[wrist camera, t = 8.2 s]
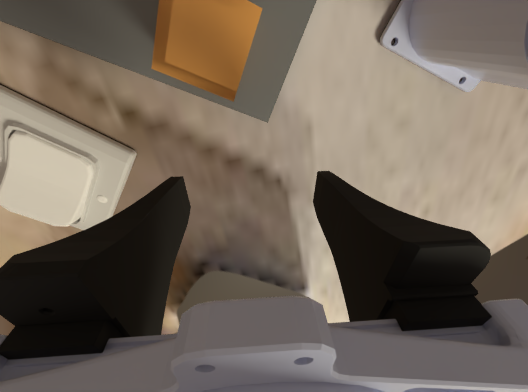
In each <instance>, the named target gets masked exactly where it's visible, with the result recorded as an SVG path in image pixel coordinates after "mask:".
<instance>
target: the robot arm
mask: <svg viewBox="0 0 528 392" xmlns="http://www.w3.org/2000/svg"><path fill="white" fill-rule="evenodd" d="M393 38H395V40H396V41H395V43H394V45H391V41H392V39H393ZM380 44H381V45H382V46H383V47H385V48H386V49H388V50H390V51H392V52H394V53H395V54H397V55H399V56H401V57H403V58H404V59H406V60H408V61H410V62H412V63H413V64H415V65H417V66H419V67H421V68H422V69H424V70H426V71H428V72H430V73H431V74H433V75H435V76H437V77H439V78H440V79H442V80H444V81H446V82H448V83H449V84H451V85H453V86H455V87H457V88H458V89H460V90H462V91H465V92H470V91H472V90H473V89H474V88H475V87H476V86H477V85H478V83H479V82H480V81H487V82H492V83H497V84H502V85H507V86H513V87H518V88H523V89H528V0H401V1H400V3H399V5H398V7H397V9H396V10H395V12H394V14H393V16H392V17H391V19H390V21H389V23H388V25H387V26H386V28H385V30H384V32H383V34H382V35H381V38H380ZM461 78H462V80H461V82H459V80H460V79H461ZM313 204H314V208H315V212H316V215H317V218H318V221H319V223H320V226H321V228H322V230H323V233H324V235H325V237H326V240H327V242H328V245H329V247H330V249H331V252H332V255H333V258H334V261H335V265H336V268H337V271H338V275H339V279H340V282H341V286H342V290H343V294H344V298H345V302H346V306H347V311H348V315H349V320H350V322H341V323H327V319H326V316H325V312H324V309H323V305H321V304H320V303H318V302H316V301H314V300H312V299H311V298H309V297H299V296H282V297H266V298H252V299H251V298H250V299H235V300H220V301H209V302H205V303H200V304H196V305H195V306H193V307H191V308H190V309H189V310H187V311H186V312H184V313H183V314H182V317H181V320H180V325H179V329H178V333H177V334H168V335H161V331H162V324H163V318H164V312H165V306H166V300H167V295H168V290H169V285H170V280H171V275H172V271H173V266H174V263H175V259H176V256H177V253H178V250H179V247H180V244H181V242H182V239H183V236H184V233H185V230H186V227H187V224H188V219H189V214H190V208H191V206H190V202H189V198H188V194H187V190H186V186H185V182H184V178H183V177H170V178H169V179H167V180H166V181H164V182H163V183H162V184H160V185H159V186H158V187H156V188H155V189H154V190H152V191H151V192H150V193H148V194H147V195H146V196H144V197H143V198H141V199H140V200H138V201H137V202H135V203H134V204H132V205H131V206H129V207H128V208H126V209H124V210H123V211H121V212H119V213H118V214H116V215H114V216H112V217H110V218H109V219H107V220H105V221H103V222H100V223H98V224H96V225H94V226H92V227H90V228H88V229H86V230H83V231H81V232H79V233H76V234H74V235H71V236H69V237H66V238H64V239H61V240H58V241H56V242H53V243H50V244H47V245H44V246H41V247H38V248H35V249H32V250H29V251H26V252H23V253H20V254H16V255H14V256H12V257H11V258H10V259H9V260H8V261H7V262H6V263H5V264H4V265H3V266H2V267H1V268H0V315H1V316H3V317H4V318H5V319H7V320H8V321H9V322H11V323H12V324H13V325H15V327H14V329H13V330H12V331H11V332H10V334H9V335H8V336H6V335H1V334H0V392H528V305H527V304H526V303H524V302H523V301H522V300H521V299H506V300H492V301H487V302H485V303H482V304H481V303H480V302H479V301H478V300H477V299H476V298H475V296H476V295H477V294H478V291H477V290H476V289H475V287H474V286H473V285H472V284H471V283H472V282H473V281H474V279H475V278H476V277H477V276H478V275H479V274H480V273H481V272H482V271H483V269H484V268H485V267H486V265H487V264H488V263H489V260H490V256H491V253H490V249H489V248H488V247H487V246H486V245H484V244H483V243H482V242H481V241H480V240H479V239H478V238H477V237H476V236H475V235H473V234H472V233H471V232H470V231H465V230H461V229H457V228H453V227H449V226H445V225H441V224H437V223H434V222H431V221H427V220H424V219H421V218H418V217H415V216H412V215H409V214H407V213H404V212H402V211H399V210H396V209H394V208H392V207H389V206H387V205H385V204H383V203H381V202H379V201H377V200H375V199H373V198H371V197H369V196H368V195H366V194H364V193H362V192H361V191H359V190H357V189H356V188H354V187H353V186H351V185H350V184H348V183H347V182H345V181H344V180H342V179H341V178H339V177H338V176H336V175H335V174H333V173H331V172H330V171H318V172H317V179H316V185H315V192H314V199H313Z"/></svg>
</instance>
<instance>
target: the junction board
mask: <svg viewBox="0 0 528 392" xmlns="http://www.w3.org/2000/svg"><path fill="white" fill-rule="evenodd" d="M248 1H250V2H252V3H254V4H255V5H257V6H259V7H261V8H263V9H262V12H261V15H260V19H259V22H258V25H257V28H256V31H255V35H254V38H253V41H252V44H251V48H250V51H249V54H248V57H247V60H246V64H245V67H244V70H243V73H242V76H241V80H240V83H239V86H238V89H237V93H236V96H235V99H234V102H233V101H231V100H228V99H226V98H223V97H221V96H218V95H216V94H213V93H211V92H208V91H206V90H203V89H201V88H198V87H196V86H193V85H191V84H188V83H186V82H183V81H181V80H178V79H176V78H173V77H171V76H168V75H166V74H163V73H161V72H158V71H156V70H153V69H151V68H152V59H153V50H154V41H155V32H156V23H157V14H158V5H159V0H0V21H2V22H5V23H7V24H10V25H13V26H15V27H18V28H20V29H23V30H26V31H28V32H31V33H34V34H36V35H39V36H42V37H44V38H47V39H49V40H52V41H55V42H57V43H60V44H63V45H65V46H68V47H70V48H73V49H76V50H78V51H81V52H84V53H86V54H89V55H91V56H94V57H97V58H99V59H102V60H105V61H107V62H110V63H112V64H115V65H118V66H120V67H123V68H126V69H128V70H131V71H133V72H136V73H139V74H141V75H144V76H147V77H149V78H152V79H154V80H157V81H160V82H162V83H165V84H168V85H170V86H173V87H175V88H178V89H181V90H183V91H186V92H189V93H191V94H194V95H196V96H199V97H202V98H204V99H207V100H210V101H212V102H215V103H218V104H220V105H223V106H225V107H228V108H231V109H233V110H236V111H239V112H241V113H244V114H246V115H249V116H252V117H254V118H257V119H260V120H262V121H265V122H267V123H268V120H269V118H270V115H271V113H272V110H273V108H274V105H275V103H276V100H277V98H278V95H279V93H280V90H281V88H282V85H283V83H284V80H285V78H286V75H287V73H288V70H289V68H290V65H291V63H292V60H293V58H294V55H295V53H296V50H297V48H298V45H299V43H300V40H301V38H302V35H303V33H304V30H305V28H306V25H307V23H308V20H309V18H310V15H311V13H312V10H313V8H314V5H315V3H316V0H248Z"/></svg>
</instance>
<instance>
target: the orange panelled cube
mask: <svg viewBox="0 0 528 392" xmlns="http://www.w3.org/2000/svg"><path fill="white" fill-rule="evenodd" d="M262 9H263V8H261V7H259V6H257V5H255V4H254V3H252V2H250V1H248V0H159V5H158V14H157V23H156V32H155V41H154V50H153V59H152V68H151V69H153V70H156V71H158V72H161V73H163V74H166V75H168V76H171V77H173V78H176V79H178V80H181V81H183V82H186V83H188V84H191V85H193V86H196V87H198V88H201V89H203V90H206V91H208V92H211V93H213V94H216V95H218V96H221V97H223V98H226V99H228V100H231V101H233V102H234V99H235V96H236V93H237V89H238V86H239V83H240V80H241V76H242V73H243V70H244V67H245V64H246V60H247V57H248V54H249V51H250V48H251V44H252V41H253V38H254V35H255V31H256V28H257V25H258V22H259V19H260V15H261V12H262Z"/></svg>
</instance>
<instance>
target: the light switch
mask: <svg viewBox="0 0 528 392" xmlns="http://www.w3.org/2000/svg"><path fill="white" fill-rule="evenodd" d="M135 157H136V152H135V151H134V150H133V149H131V148H128V147H126V146H124V145H122V144H120V143H118V142H116V141H114V140H112V139H110V138H108V137H106V136H104V135H102V134H100V133H98V132H96V131H94V130H92V129H90V128H88V127H85V126H83V125H81V124H79V123H77V122H75V121H73V120H71V119H69V118H67V117H65V116H63V115H61V114H59V113H57V112H55V111H53V110H51V109H49V108H47V107H45V106H42V105H40V104H38V103H36V102H34V101H32V100H30V99H28V98H26V97H24V96H22V95H20V94H18V93H16V92H14V91H12V90H10V89H8V88H6V87H4V86H2V85H0V205H1V206H3V207H4V208H6V209H7V210H8V211H11V212H14V213H17V214H20V215H23V216H26V217H29V218H32V219H35V220H38V221H41V222H44V223H47V224H50V225H53V226H69V225H70V226H73V227H76V228H79V229H82V230H86V229H88V228H90V227H92V226H94V225H96V224H98V223H100V222H103V221H105V220H107V219H109V218H110V217H112V216H113V213H114V211H115V208H116V206H117V203H118V201H119V198H120V196H121V193H122V191H123V188H124V186H125V183H126V181H127V178H128V176H129V173H130V170H131V168H132V165H133V162H134V160H135ZM79 218H81V219H79Z"/></svg>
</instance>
